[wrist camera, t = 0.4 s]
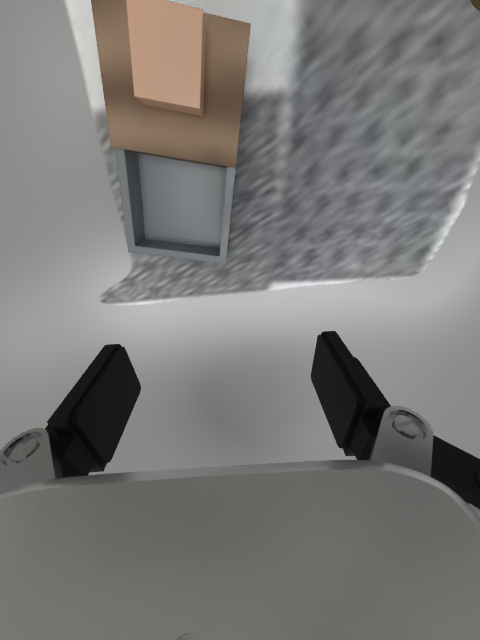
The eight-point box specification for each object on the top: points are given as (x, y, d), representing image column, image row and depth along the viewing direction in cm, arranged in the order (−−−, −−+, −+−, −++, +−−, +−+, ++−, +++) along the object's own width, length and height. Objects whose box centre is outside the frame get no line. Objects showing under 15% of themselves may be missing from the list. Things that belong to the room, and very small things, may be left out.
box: (131, 152, 30) (115, 147, 26) (234, 169, 31) (235, 167, 27) (140, 243, 36) (128, 252, 32) (226, 254, 38) (225, 263, 33)
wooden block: (118, 27, 24) (89, -15, 19) (246, 54, 25) (250, 23, 20) (131, 152, 30) (111, 146, 25) (234, 169, 31) (235, 167, 26)
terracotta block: (138, 15, 20) (125, -10, 17) (206, 30, 20) (202, 9, 18) (144, 105, 23) (134, 96, 21) (203, 116, 24) (199, 108, 21)
